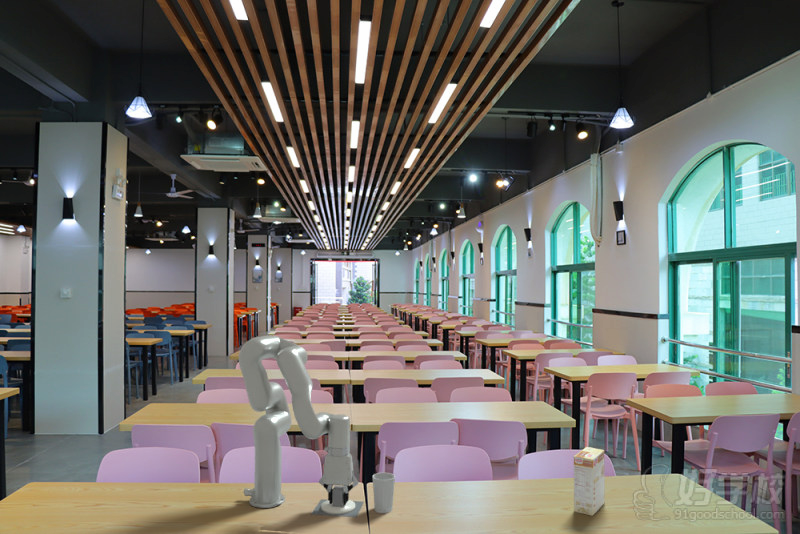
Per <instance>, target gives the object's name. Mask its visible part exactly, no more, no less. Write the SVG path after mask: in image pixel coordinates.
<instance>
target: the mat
mask: <svg viewBox="0 0 800 534" xmlns="http://www.w3.org/2000/svg"><path fill="white" fill-rule="evenodd" d="M327 500H328V499H322V498H321V499H320V500H319V502H318V503H317V504H316V506H315V508H314V509H313V511H311V513H310V515H311V516H312V515H313V516H328V517H329V516H330V517H348V518H357V517H358V515H359V513H360V511H361V509H362V508H363V505H364V503H365V502H364V501H355V500H352V501H353V502H354V503H355V509H354V510H353V511H352V512H350V513H346V514H340V515H334V514H328V513H325V512H323V511H322V510H321V504H322V503H323V502H325V501H327Z"/></svg>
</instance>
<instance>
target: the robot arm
mask: <svg viewBox="0 0 800 534" xmlns="http://www.w3.org/2000/svg"><path fill="white" fill-rule="evenodd" d="M270 358H271V359H274V360H276V364H277V366H278V368H279V371H280V372H281V375H282V377H283V379H284V381H285V384H286V385H287V387H288V388H287V389H289V392H290V395H291V404H292V405H291V406H292V411H293V415H294V416H293V417H294V418H295V421H296V422H297V424H298V427H299V430H300V431H301V433H302V434H303V436H304V437H306V438H307V439H310V440H316V439H318V438H320V437H322V436H323V435H326V434H328V441H327V442H328V446H324V448H323V449H324V452H327V454H326V455H325V459H324V466H323V475H322V476H321V478H320V479H319V480H318V484H319V485H321V486H323V488H324V489H325V490H326V492H327V497H328V498H327V500H328V501H329V504H332V495H333V488H334V486H344V494H343V504H344V505H346V503H347V502H348V500H350V497H349V496H350V491H351V490H353V488H355V487H357V486H358V485H359V481H358V479H357V477H356V476H355V474H354V463H353V456H352V453H350V452H351V449H350V446H351V445H350V444H351V443H350V441H351V440H350V439H351V433H350V432H351V419H350V417H349V415H346V414H334V413H329V412H324V411H322V412H321V411H320V412H317V413H316V412H315V410H314V407H313V405H312V397H311V396H312V392H313V386H314V382H313V380H312V378H311V376H310V374H309V372H308V370H307V368H306V366H305V365H306V364H307V362H308V353H307V350H306V349H305V348H304V347H302V346H301V345H299V344H297V343H294V342H291V341H290V340H287V339H284V338H282V337H280V336H278V335H274V334H273V335H272V334H269V335H267V334H266V335H261V336H256V337H253V338H251V339H249V340H248V341H246V342H245V343H244V344H243V346H242V347H241V348H240V350H239V353H238V366H239V368H240V371H241V374H242V378H243V383H244V386H245V390H246V394H247V397H248V402H249V404H250V405H249V406H250V407H251V409H252V410H253V411H255V412H258V413H261V412H265V414H263V415H261V416H260V417H258V418H257V420H256V421H255V422H254V425H253V428H252V434H253V435H252V436H253V443H254V486H253V487H252V488H244V490H243V494H244V497H248V496H249V497H250V499H249V505H250V506H253V507H254V508H260V509H268V508H269V509H270V508H274V507H278V506H281V505H282V504H284V503H285V502H286V496H285V495H284V494H282V444H281V441H280V437H281V436H283V435H284V434H286V433H288V431H289V430H290V428H291V426H292V415H291V411H290V408H289V407H290V406H289V404H288V401H287V397H286V393H285V391H284V388H283V387H282V385H281V384H279V383H278V382H276V381H269V378H268V373H267V372H268V371H266V368H265V367H264V365H263V363H262V361H263V360H266V359H270Z"/></svg>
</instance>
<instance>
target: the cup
mask: <svg viewBox="0 0 800 534" xmlns="http://www.w3.org/2000/svg"><path fill="white" fill-rule="evenodd" d="M395 481H396V475H395V474H393V473H391V472H377V473H373V475H372V488H373V502H374V503H373V505H374V509H373V510H374V511H375V512H376V513H380V514H387V513H390V512H392V511H393V503H394V492H395V483H396V482H395Z"/></svg>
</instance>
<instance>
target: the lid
mask: <svg viewBox="0 0 800 534" xmlns="http://www.w3.org/2000/svg"><path fill="white" fill-rule="evenodd" d="M332 489H333V495H332V504H329V501H328V499H326V500H327V501H325V502H323V503H322V504H321V510H322V511H323V512H325V513H328V514H334V515H340V514H346V513H350V512H352V511H353V510H354V509H355V503H354V502H353V501H354V500H351V499H349V500H348V502H347V503H346V505H344V504H343V494H344V491H345V490H344V486H342V485H333V487H332Z"/></svg>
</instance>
